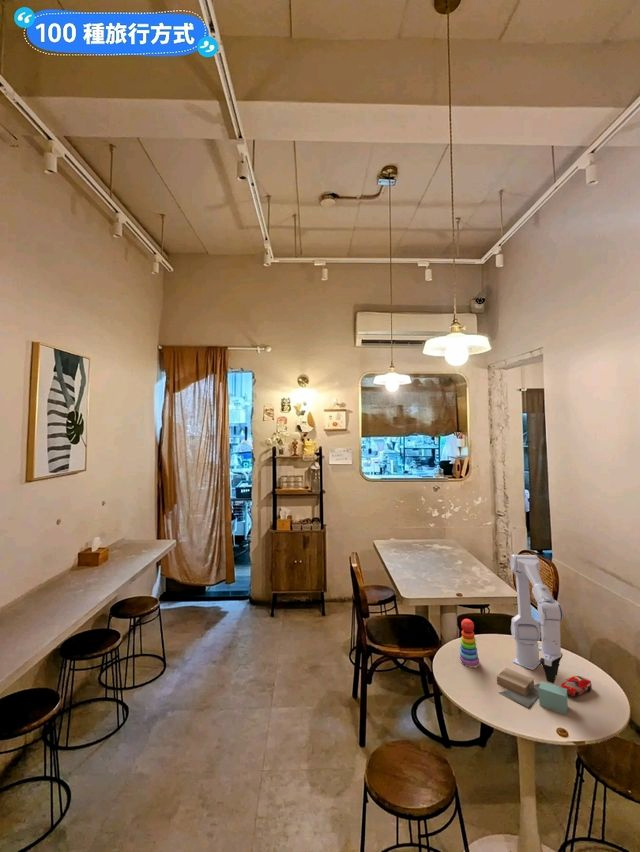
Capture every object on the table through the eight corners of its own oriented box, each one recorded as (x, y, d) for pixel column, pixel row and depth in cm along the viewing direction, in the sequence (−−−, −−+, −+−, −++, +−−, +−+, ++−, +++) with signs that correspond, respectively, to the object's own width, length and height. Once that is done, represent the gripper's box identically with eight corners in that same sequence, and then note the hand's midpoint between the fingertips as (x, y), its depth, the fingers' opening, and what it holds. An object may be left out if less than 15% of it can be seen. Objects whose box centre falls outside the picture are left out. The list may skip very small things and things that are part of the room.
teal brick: (541, 698, 141) (540, 680, 141) (567, 707, 136) (567, 689, 136) (539, 705, 137) (538, 687, 137) (566, 715, 132) (565, 696, 132)
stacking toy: (462, 658, 167) (461, 613, 168) (482, 664, 162) (480, 618, 163) (456, 667, 160) (455, 620, 161) (477, 673, 156) (475, 625, 157)
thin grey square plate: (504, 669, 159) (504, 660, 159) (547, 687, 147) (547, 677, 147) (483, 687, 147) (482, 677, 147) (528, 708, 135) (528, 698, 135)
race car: (572, 699, 139) (572, 687, 139) (557, 690, 144) (557, 679, 144) (595, 690, 145) (595, 679, 145) (579, 682, 149) (579, 671, 150)
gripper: (541, 627, 146) (542, 664, 145) (533, 642, 134) (535, 683, 134) (563, 632, 141) (565, 671, 141) (557, 649, 130) (559, 691, 129)
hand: (552, 677), depth 137 cm, fingers open, 5 cm apart
